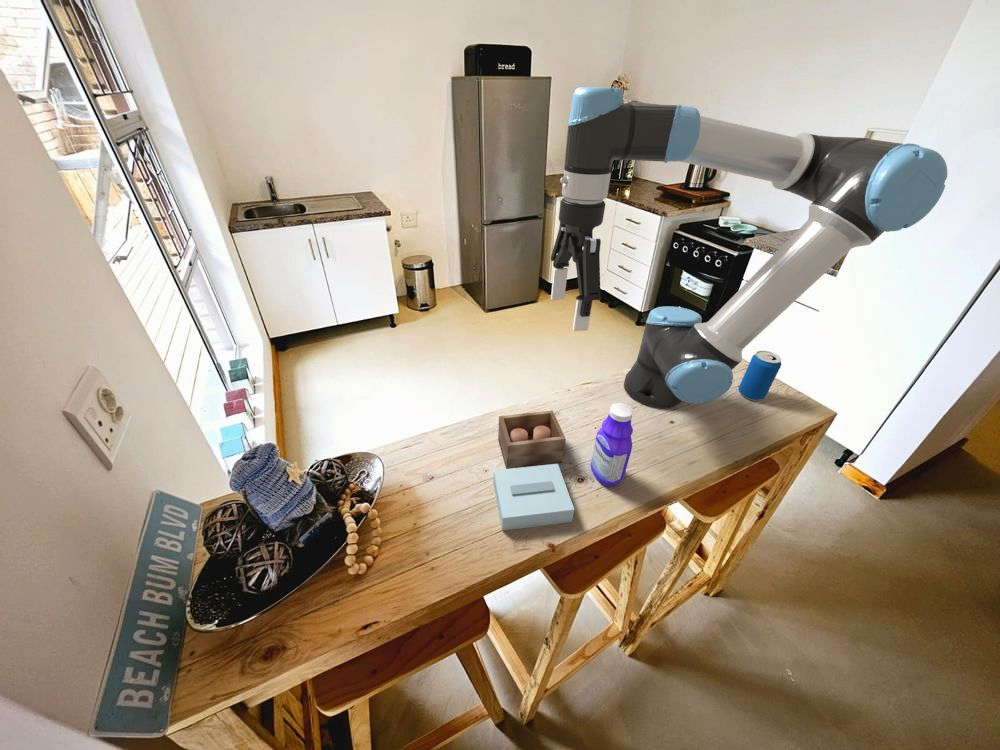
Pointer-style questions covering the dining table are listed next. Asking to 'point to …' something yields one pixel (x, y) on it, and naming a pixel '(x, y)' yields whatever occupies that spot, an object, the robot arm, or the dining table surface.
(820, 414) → the dining table surface
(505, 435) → the crate
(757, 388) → the beverage can
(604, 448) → the bottle
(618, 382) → the dining table surface
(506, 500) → the lid
